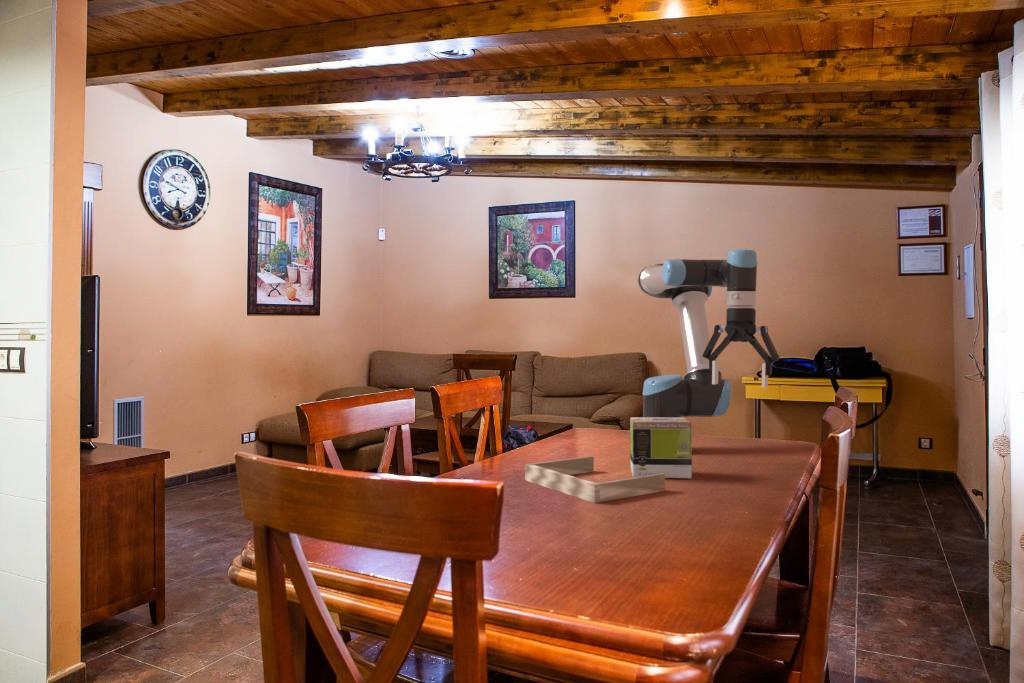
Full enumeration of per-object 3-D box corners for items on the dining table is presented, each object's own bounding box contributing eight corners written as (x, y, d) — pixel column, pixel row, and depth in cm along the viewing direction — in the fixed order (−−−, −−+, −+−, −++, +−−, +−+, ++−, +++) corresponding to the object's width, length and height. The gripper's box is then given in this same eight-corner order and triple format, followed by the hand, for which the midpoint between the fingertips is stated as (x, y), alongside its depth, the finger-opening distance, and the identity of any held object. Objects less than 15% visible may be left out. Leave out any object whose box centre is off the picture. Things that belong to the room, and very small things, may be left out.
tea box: (686, 471, 191) (687, 416, 191) (692, 480, 181) (692, 421, 181) (629, 470, 193) (630, 415, 192) (632, 478, 183) (632, 420, 182)
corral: (524, 480, 180) (525, 464, 179) (591, 470, 191) (591, 455, 191) (594, 503, 157) (594, 484, 157) (664, 490, 169) (664, 473, 169)
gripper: (691, 307, 197) (690, 383, 199) (784, 307, 183) (782, 390, 184) (702, 307, 203) (700, 381, 205) (792, 307, 189) (790, 387, 190)
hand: (739, 385), depth 194 cm, fingers open, 13 cm apart
